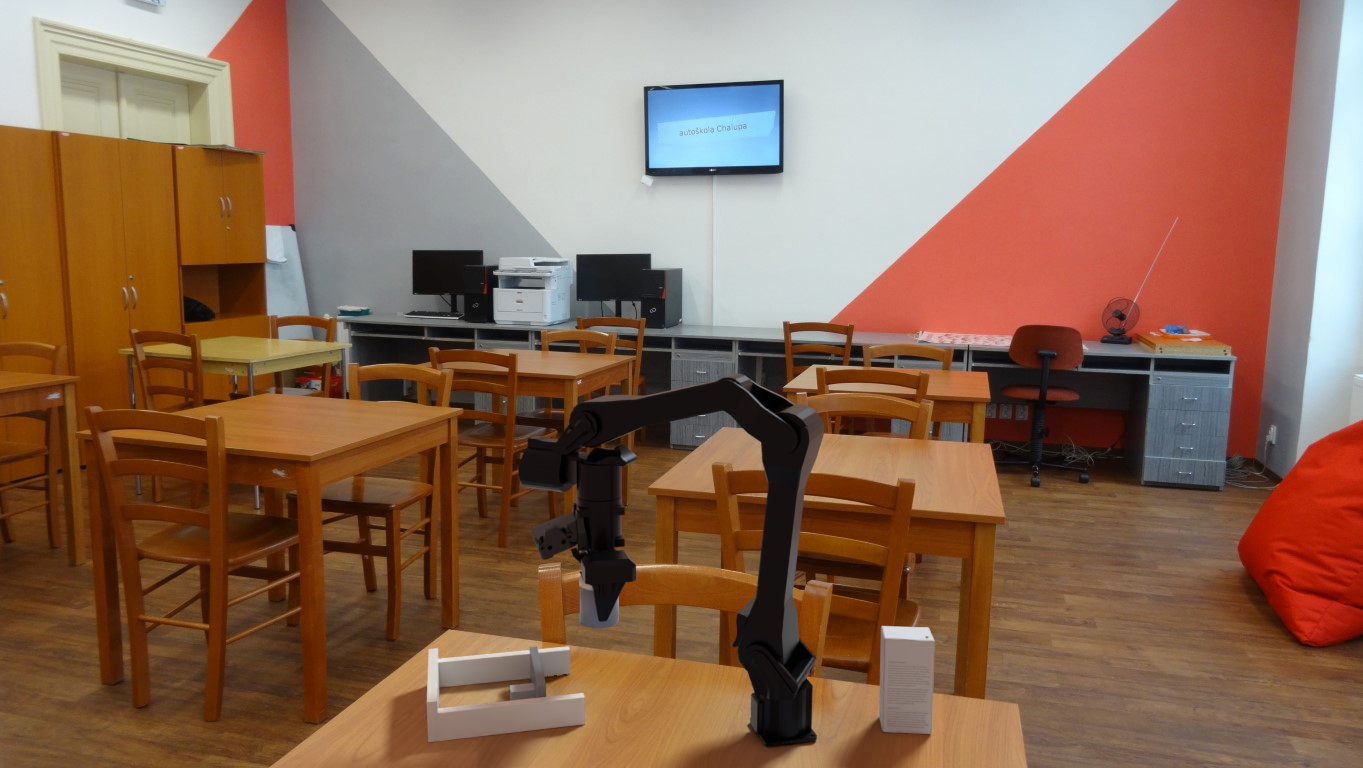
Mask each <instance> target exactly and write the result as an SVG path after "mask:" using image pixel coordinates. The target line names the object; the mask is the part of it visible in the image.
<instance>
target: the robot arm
mask: <svg viewBox="0 0 1363 768" xmlns="http://www.w3.org/2000/svg"><path fill="white" fill-rule="evenodd" d="M718 412H725V413H726V414H728V415H729V416H731V418H733V420H735V422H736V423H737V424H738V425H739V426H740V427H741V428H742V429H743V430H744V432H745V433H747V434H748V435H750V436H751V437H752V438H754V439H755V440H757V441H758V442H760V449H761V462H762V467H763V470H764V474H765V478H766V482H767V493H766V502H765V511H764V519H763V520H764V522H763V529H762V539H761V545H760V546H761V547H760V557H759V566H758V574H757V575H758V576H757V583H756V593H755V597H752V598H751V599H750V600H749V601H748V602H747V603H746V604H745V605H744V607H743V608H742V609H741V610H740V611H739V612H738V613H737V614H736V620H735V621H736V623H735V624H736V636H735V639H734V641H733V643H732V648H736V649H737V650H736V654H737V659H738V662H739V663H738V664H741V666H742V667H743V668H744V670H745V671H746V672H747V676H748V677H749V680H750V684H751V686H752V689H753V692H752V693H751V694H750V718H749V723H750V726H751V727H752V728H753V730H754V732H755V733H756V734H757V735H758V737H759V738H760V740H761V741H762V743H763V744H764V745H765V746H766V747H776V746H777V747H778V746H782V745H791V744H799V743H806V742H814V741H817V740H818V735H817V732H815V731H814V729H813V697H814V696H813V695H814V694H813V692H814V689H813V688H814V685H813V684H812V682H811V681H810V680H809V679H808V676H809V675H810V674H811V673H812V672H813V669H814V668H815V664H816V662H817V661H818V660H817V659H818V657H817V656H816V655H815V654H814V653H813V651H812V649H810V648H809V647H808V646H807V645H806V643H805V642H804V641H803V640H802V639H801V638H800V632H799V615H798V612H797V608H796V604H795V600H794V595H793V594H794V586H795V585H794V584H795V577H796V571H797V559H798V553H799V552H798V551H799V545H800V537H801V536H800V535H801V534H800V533H801V526H802V518H803V508H804V501H805V493H806V485H807V482H808V480H809V477H810V475H811V472H812V470H813V467H814V466H815V463H816V460H817V457H818V454H819V451H820V448H821V444H822V443H823V442H822V441H823V438H824V435H825V423H824V420H823V418H822V417H821V416H820V415H819V414H818V413H817V411H816V410H815V409H813V408H812V407H810V406H807V405H805V404H795V403H794V402H792V401H791V400H789V399H788V398H786V397H784V396H783V395H781V394H779V393H777V392H774V391H772V390H770V389H768V388H766V387H764V386H762V385H760V384H758V383H757V382H756V381H753V380H752V379H751V378H749V377H747V375H745V374H742V373H734V374H731V375H728V376H724V377H722V378H720V379H715V380H710V381H705V382H702V383H697V384H693V385H689V386H688V385H687V386H684V387H679V388H674V389H671V390H670V389H669V390H667V391H661V392H657V393H652V394H648V395H636V394H635V395H632V394H613V395H611V394H610V395H602V396H599V397H595V398H592V399H589V400H586V401H583V402H580V403H577V404H575V406H574V407H572V411H571V412H570V414H569V419H568V425H567V426H566V427H565V429H564V431H563V432H562V434H561V435H560V436H559V438H550V437H549V438H548V437H546V436H543V435H542V436H541V435H534V436H531V437H529V438H527V442H526V443H527V447H526V448H525V450H524V451H523V453H522V455H521V459H520V463H519V464H518V468H517V469H518V478H519V481H520V483H521V485H522V486H523V487H524V488H528V489H535V490H536V489H537V490H542V491H551V492H559V493H560V492H561V493H568V492H569V491H570V490H571V489H572V487H573V486H576V499H574V500H573V501H574V502H572V503H571V512H569V513H567V514H566V513H565V514H563V515H560V516H556V517H555V518H552V519H550V520H547V521H545V522H542V523H539V524H537V525H535V526H534V527H532V528H531V529H530V533H531V535H532V539H533V541H534V543H535V546H536V548H537V551H538V554H539V555H540V558H541V560H543V561H544V560H545V561H546V560H549V559H551V558H554V556H555V555H557V554H560V553H562V552H565V551H567V550H570V552H571V554H572V557H573V558H574V559H575V560H576V561H578V563H579V564H581V565H580V571H579V574H580V576H581V577H582V579H583V580H584V582H585V584H588V585H591V586H592V590H593V595H594V600H595V606H596V611H597V616H598V620H599V621H600V622H604V621H607V620H608V618H609V616H610V614H611V612H612V609H613V607H614V605H615V603H616V601H617V599H618V597H619V598H620V595H621V592H622V591H623V589H624V587H625V585H626V583H633V582H635V581H637V564H636V563H635V561H634V559H633V558H632V556H631V555H630V554H629V553H628V552H627V551H626V550H624V549H619V550H617V548H623V547H625V546H626V543H625V539H626V538H625V537H624V535H623V534H622V532H623V531H622V529H623V528H622V527H623V525H622V522H623V521H622V520H623V519H622V516H626V514H625V513H626V512H625V510H626V508H625V506H624V504H623V499H622V498H623V496H622V494H623V493H622V491H623V489H622V488H623V486H622V485H623V484H622V481H623V480H622V477H623V475H622V472H623V471H622V467H627V466H628V465H631V464H633V463H635V462H637V461H638V459H639V458H638V456H637V455H636V453H634V451H632V450H631V449H630V448H629V447H628V446H627V444H626V443H624V442H623V443H621V444H618V445H616V446H615V447H614V448H607V447H601V446H602V445H604V444H606V443H609V442H611V441H613V440H616V439H619V438H622V437H624V436H626V435H628V434H631V433H633V432H635V431H638V430H640V429H642V428H646V427H651V426H655V425H656V426H657V425H660V424H666V423H670V422H675V421H680V420H684V419H689V418H695V417H699V416H704V415H709V414H714V413H718ZM599 446H600V447H599ZM585 448H593V449H591V451H590V452H587V451H580V450H581V449H585ZM575 546H576V547H575Z"/></svg>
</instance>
